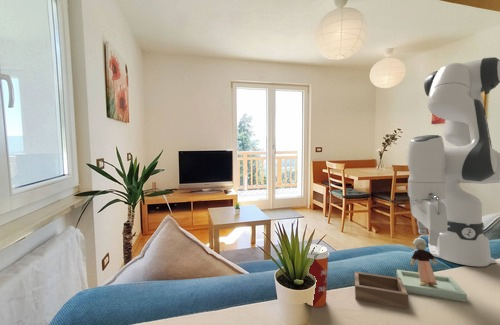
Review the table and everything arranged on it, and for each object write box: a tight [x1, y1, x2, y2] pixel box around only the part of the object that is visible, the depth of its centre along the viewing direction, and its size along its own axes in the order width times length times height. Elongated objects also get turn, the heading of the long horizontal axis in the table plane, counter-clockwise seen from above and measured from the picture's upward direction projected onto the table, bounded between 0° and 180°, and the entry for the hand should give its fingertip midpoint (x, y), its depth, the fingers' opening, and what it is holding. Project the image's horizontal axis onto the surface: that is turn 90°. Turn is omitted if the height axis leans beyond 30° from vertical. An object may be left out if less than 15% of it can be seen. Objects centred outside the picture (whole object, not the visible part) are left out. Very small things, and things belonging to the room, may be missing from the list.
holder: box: [354, 271, 409, 310], centre depth 66 cm, size 9×12×4 cm
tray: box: [396, 269, 468, 303], centre depth 69 cm, size 10×14×2 cm
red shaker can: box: [304, 243, 330, 308], centre depth 64 cm, size 8×8×14 cm
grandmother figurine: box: [410, 237, 438, 285], centre depth 70 cm, size 8×4×13 cm, turn 103°
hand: (427, 239), depth 69 cm, fingers open, 8 cm apart
